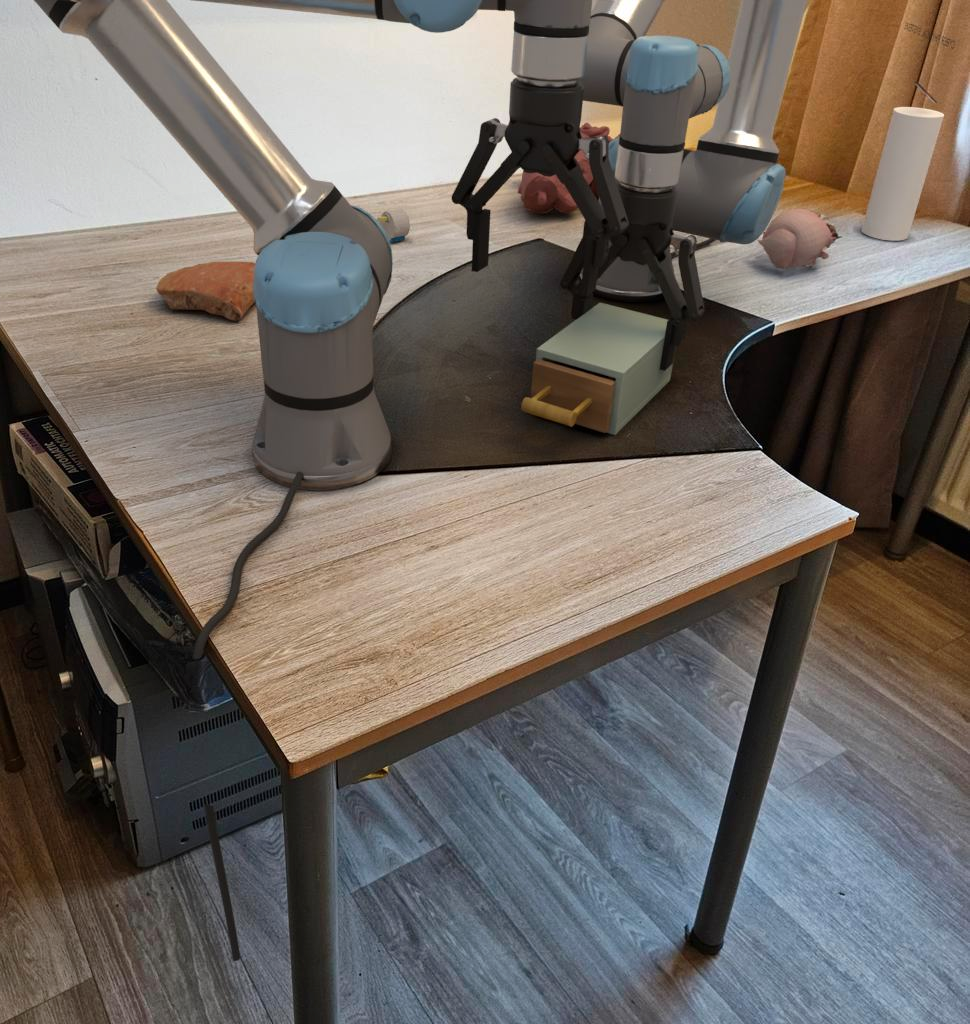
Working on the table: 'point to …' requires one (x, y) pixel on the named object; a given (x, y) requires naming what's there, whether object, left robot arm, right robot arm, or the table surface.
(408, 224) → the electric motor
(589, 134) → the red pig figurine
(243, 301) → the ceramic shard
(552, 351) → the cabinet
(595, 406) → the drawer
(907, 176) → the tall white tube
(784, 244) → the toy
